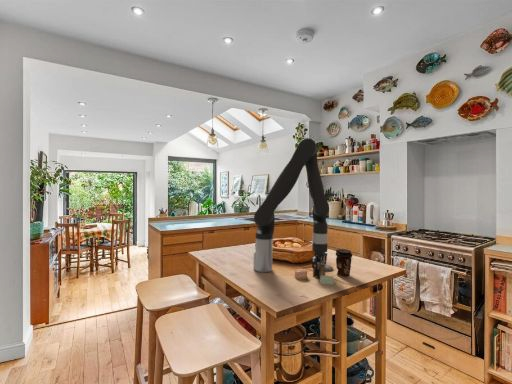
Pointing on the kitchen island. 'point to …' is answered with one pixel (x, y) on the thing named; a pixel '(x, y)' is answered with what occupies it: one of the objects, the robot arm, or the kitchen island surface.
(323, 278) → the sage block
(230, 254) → the kitchen island surface
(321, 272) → the walnut block
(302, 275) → the small brown block
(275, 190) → the robot arm
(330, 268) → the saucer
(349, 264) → the coffee cup
